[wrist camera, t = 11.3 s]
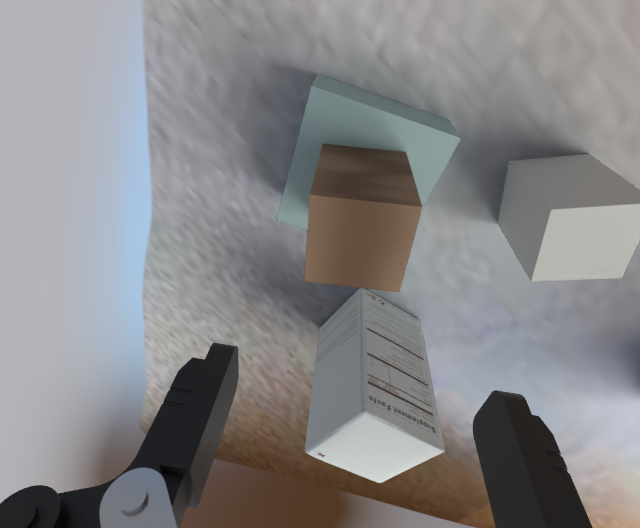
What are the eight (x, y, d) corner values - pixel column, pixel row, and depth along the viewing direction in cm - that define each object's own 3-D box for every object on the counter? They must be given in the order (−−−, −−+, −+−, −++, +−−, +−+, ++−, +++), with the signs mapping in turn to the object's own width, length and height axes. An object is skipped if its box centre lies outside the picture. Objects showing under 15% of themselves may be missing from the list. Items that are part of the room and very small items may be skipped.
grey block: (588, 153, 24) (656, 202, 19) (568, 218, 27) (621, 278, 21) (508, 160, 25) (551, 209, 19) (497, 223, 28) (531, 281, 22)
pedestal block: (448, 118, 24) (461, 138, 21) (392, 228, 29) (396, 257, 26) (318, 72, 23) (311, 85, 20) (285, 194, 28) (276, 220, 25)
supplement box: (374, 357, 39) (379, 486, 29) (317, 327, 37) (300, 454, 27) (423, 319, 35) (448, 454, 25) (362, 283, 33) (361, 413, 23)
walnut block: (406, 152, 22) (422, 207, 16) (390, 224, 24) (399, 292, 19) (322, 143, 22) (309, 194, 16) (316, 216, 25) (304, 281, 19)
